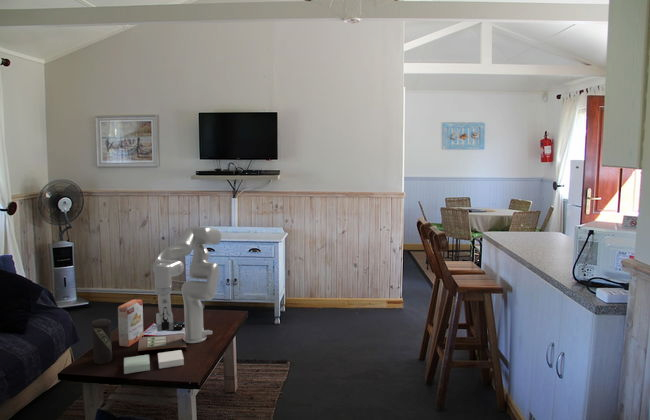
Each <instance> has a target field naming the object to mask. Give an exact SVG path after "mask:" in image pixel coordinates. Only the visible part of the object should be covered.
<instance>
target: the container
mask: <svg viewBox="0 0 650 420" xmlns="http://www.w3.org/2000/svg"><path fill="white" fill-rule="evenodd" d="M111 324H112V321H111V319H109V318H99V319H98V318H97V319H95V320H92V321H91V323H90V327H91V328H92V329H91V331H92V348H93V363H95V364H96V365H104V364H109V363H110V362H112V361H113V351H112V350H113V349H112V338H111V337H112V336H111V335H112V333H111Z"/></svg>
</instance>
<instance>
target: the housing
mask: <svg viewBox="0 0 650 420" xmlns="http://www.w3.org/2000/svg"><path fill="white" fill-rule="evenodd" d="M163 315H164V314H163ZM155 316H156V318H155V320H156V321H155V322H156V331H157V332H165V331H166V332H167V331H171V330H172V331H173V330H174V315H173V312H172V311H171V315H169V314H168V320H169V330H162V316H161V315H160V312H157V313H155ZM163 318H164V317H163Z"/></svg>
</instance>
